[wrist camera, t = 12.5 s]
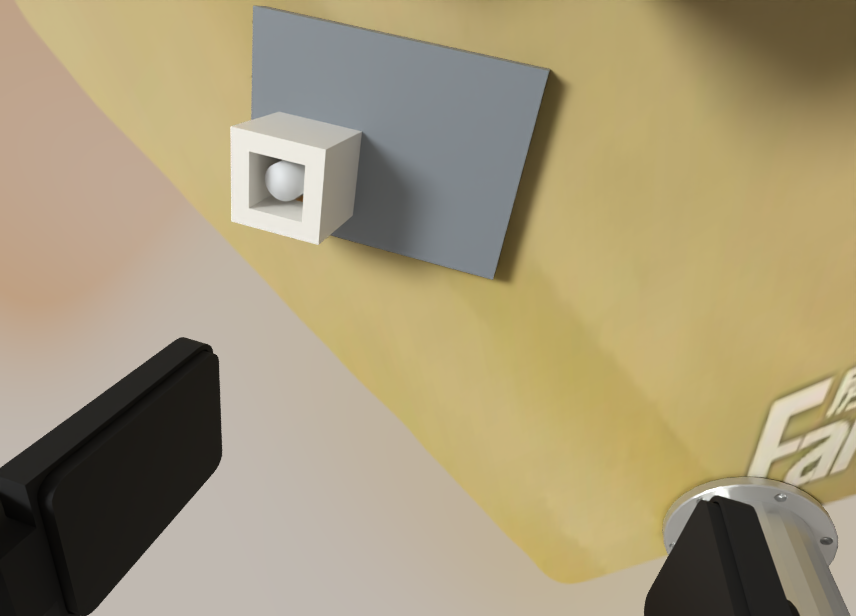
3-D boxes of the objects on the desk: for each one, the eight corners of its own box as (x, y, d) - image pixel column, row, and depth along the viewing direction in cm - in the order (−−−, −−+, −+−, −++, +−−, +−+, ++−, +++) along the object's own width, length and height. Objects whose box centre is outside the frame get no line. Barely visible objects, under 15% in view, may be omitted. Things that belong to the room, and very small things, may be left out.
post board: (495, 271, 40) (481, 311, 35) (259, 207, 43) (211, 235, 37) (550, 69, 33) (543, 79, 28) (265, 6, 36) (206, 3, 30)
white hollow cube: (279, 111, 37) (230, 126, 32) (362, 131, 36) (325, 149, 31) (276, 195, 40) (231, 221, 35) (352, 215, 39) (318, 244, 34)
